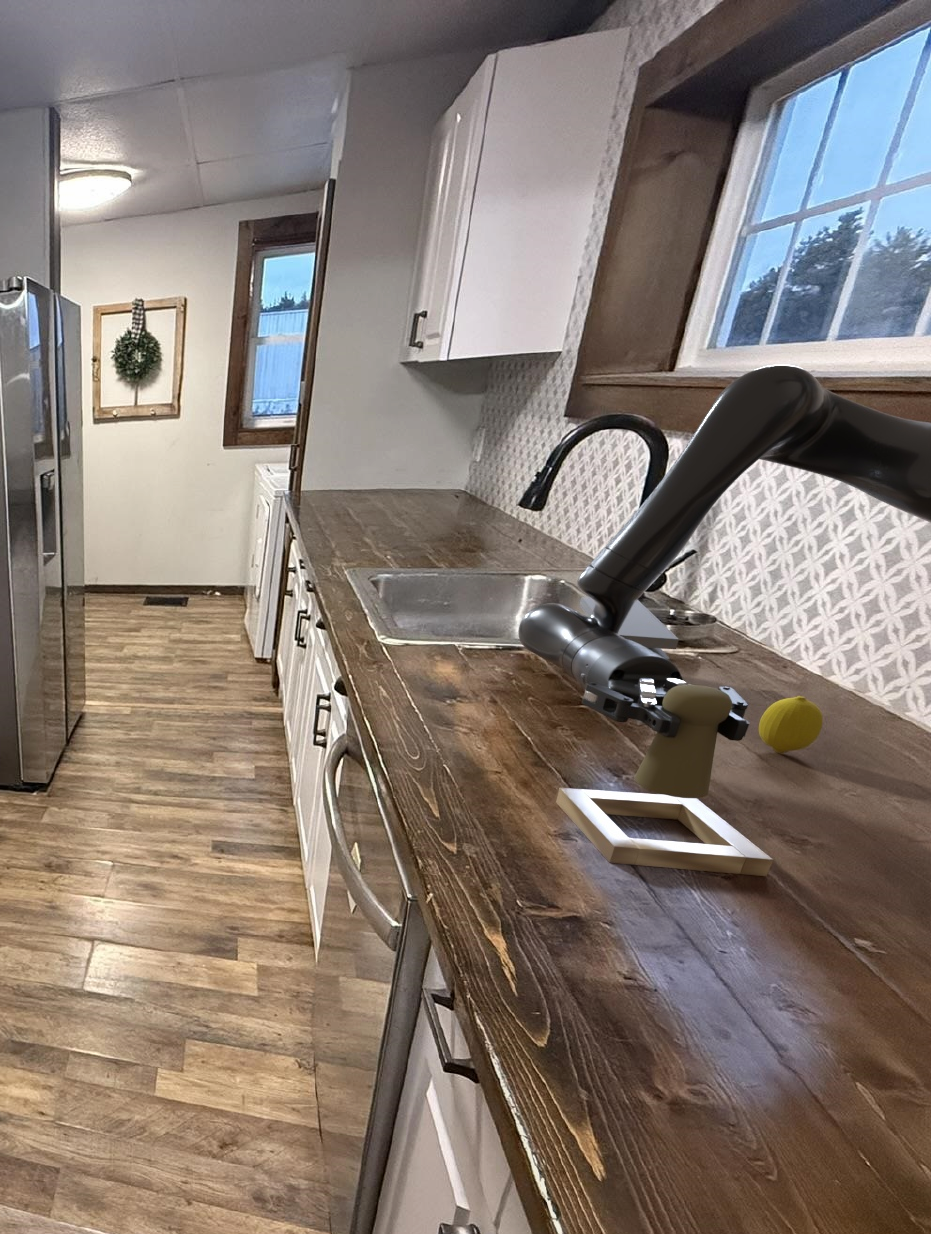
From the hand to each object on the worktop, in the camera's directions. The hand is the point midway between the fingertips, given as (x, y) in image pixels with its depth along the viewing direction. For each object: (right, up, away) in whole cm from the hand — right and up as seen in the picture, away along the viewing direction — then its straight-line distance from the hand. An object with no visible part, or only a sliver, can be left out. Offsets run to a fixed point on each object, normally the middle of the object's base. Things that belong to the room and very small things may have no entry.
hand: (706, 730), depth 77 cm
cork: (+1, -6, +5) cm, 8 cm away
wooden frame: (+1, -12, +8) cm, 14 cm away
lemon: (+33, -3, +24) cm, 41 cm away
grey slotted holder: (+33, +8, +51) cm, 62 cm away
